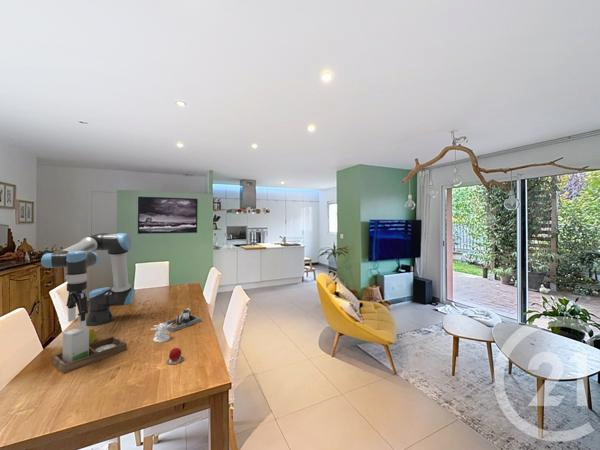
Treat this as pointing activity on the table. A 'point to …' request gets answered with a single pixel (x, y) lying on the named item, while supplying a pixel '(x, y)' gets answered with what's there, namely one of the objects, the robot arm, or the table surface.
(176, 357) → the red push button
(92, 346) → the divided wooden tray
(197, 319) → the valet frame
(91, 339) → the lemon
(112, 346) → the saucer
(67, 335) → the skincare box
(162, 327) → the figurine
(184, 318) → the camera
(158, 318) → the table surface
